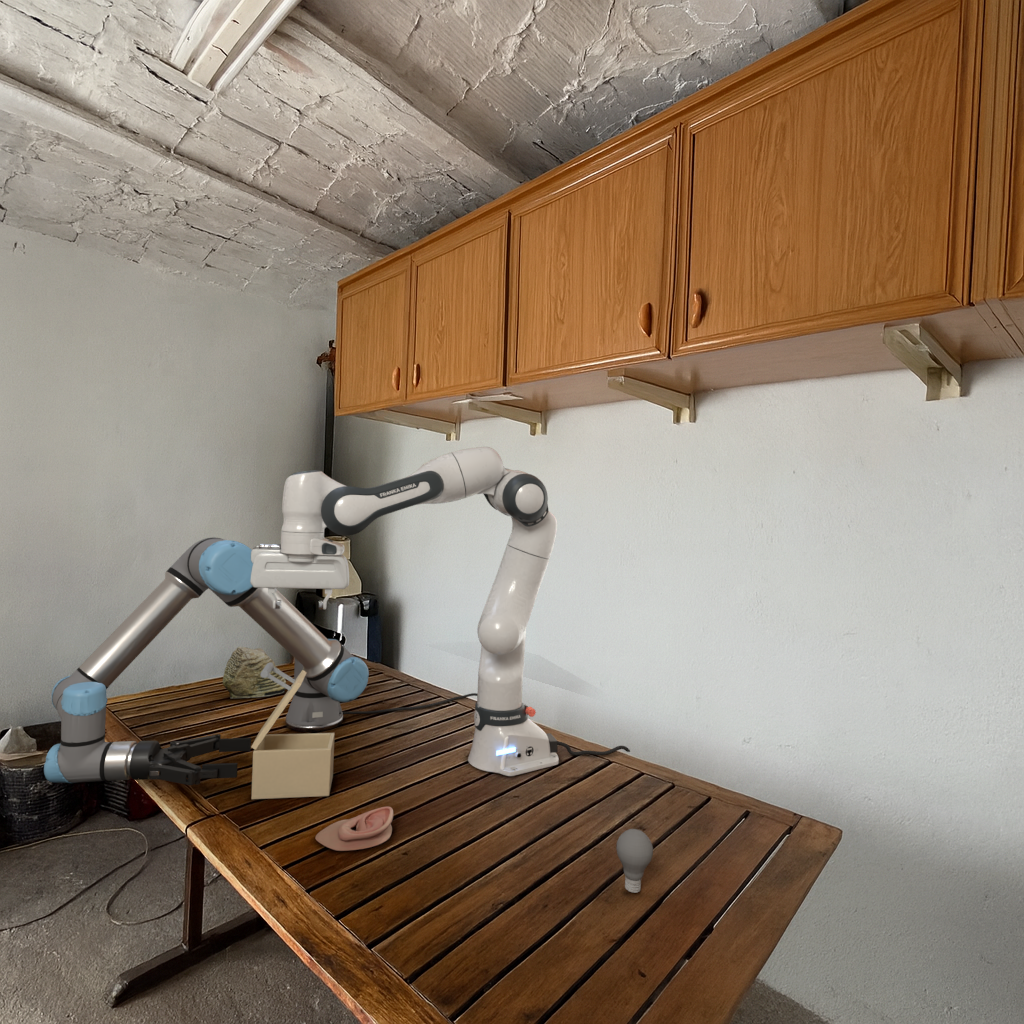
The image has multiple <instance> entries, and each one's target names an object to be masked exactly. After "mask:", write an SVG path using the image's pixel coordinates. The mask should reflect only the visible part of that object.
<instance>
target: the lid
mask: <svg viewBox="0 0 1024 1024" xmlns="http://www.w3.org/2000/svg"><path fill="white" fill-rule="evenodd" d="M277 668H278V667H276V668H275V667H274V664H273V663H271V662H270V663H267V665H266V666H265V667H264V669H263V670H262V672H261V674H260V675H261V677H262V678H266V677H267V678H269V679H271V680H272V681H274V682H276V683H277V684H279V685H281V686H282V687H284V688H286V690H287V691H286V693H285V694H284V695H283V697H282V698H281V699H280V701H279V703H277V705H276V707H275V709H274V710H273V711H272V713H271V714H270V716H269V717H268V719H266V721H265V723H263V726H261V729H260V730H259V732H258V734H257V735H256V737H255V739H254V741H253V743H251V749H253V750H254V749H255V750H256V749H257V747H258V746H259V744H260V743H261V742H262V740H263V739H264V737H265V736H266V735H268V733H269V732H270V730H271V729H272V728H273V726H274V725H275V724H276V722H277V720H278V719H279V718H280V716H281V714H283V712H284V710H285V709H286V708H287V706H288V704H289V703H291V702H290V701H292V699H293V696H294V694H295V693H296V692H297V690H298V689H299V687H300V686H301V684H302V682H303V680H304V677H305V675H306V673H307V672H305V671H304V670H302V671H301V673H300V674H299V676H298V677H297V678H296V680H295V679H294V677H292V676H290V675H288V674H287V673H285V672H283V671H282V670H281V669H279V668H278V669H279V670H278V669H277ZM271 671H274V672H275V673H277V674H279V675H280V676H282V677H283V678H285V680H286V681H288V682H290V683H292V684H291V685H289V684H287V682H286V683H284V682H282V681H281V680H279V679H277V678H276V677H274V676H272V675H271V674H270V672H271Z"/></svg>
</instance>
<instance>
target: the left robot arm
mask: <svg viewBox="0 0 1024 1024" xmlns="http://www.w3.org/2000/svg"><path fill="white" fill-rule="evenodd" d="M251 551H252V549H251V548H250V547H249V546H248V545H246V544H244V543H242V542H239V541H237V540H232V539H231V540H230V539H224V538H221V537H215V536H213V537H212V536H211V537H206V538H203V539H202V538H201V539H200V540H198V541H196V542H194V543H193V544H192V545H191V546H190V547H188V548H187V549H186V551H184V552H183V553H182V554H181V555H180V557H178V559H176V561H175V562H173V564H172V565H171V566H170V567H169V568H168V569H167V570H166V571H165V572H164V579H163V580H162V582H161V583H159V585H158V586H156V588H154V590H153V591H152V592H150V594H149V595H148V596H146V598H145V599H144V600H143V601H142V602H141V603H140V604H139V605H138V606H137V607H136V608H135V609H134V610H133V611H132V612H131V613H130V614H129V616H127V617H126V619H124V620H123V621H122V623H121V624H120V625H118V626H117V628H115V629H114V631H113V632H112V633H110V634H109V636H108V637H107V638H106V639H104V641H103V642H102V643H101V644H100V645H99V646H98V647H97V648H96V649H95V650H94V651H93V652H92V653H91V654H90V655H89V656H88V658H87V659H85V660H84V661H83V662H82V663H81V664H80V665H79V667H78V668H77V669H75V670H74V671H73V673H71V674H70V675H67V676H65V677H63V678H60V679H59V680H58V681H57V682H56V683H55V684H54V686H53V688H52V690H51V696H50V697H51V704H52V706H53V708H55V710H56V712H57V715H58V717H59V718H60V723H61V725H60V727H61V728H60V743H56V744H53V746H52V747H50V749H49V750H48V752H47V754H46V757H45V762H44V764H43V773H44V777H45V779H46V780H47V781H48V782H50V783H60V784H61V783H63V784H65V783H66V784H76V783H93V782H111V781H112V782H116V783H121V782H122V781H130V780H131V779H132V780H133V781H143V780H145V781H147V780H153V781H155V780H157V781H158V780H159V781H160V780H161V781H166V782H170V783H176V784H181V785H187V786H194V785H195V786H197V785H201V781H202V780H212V779H213V780H215V779H235V778H238V766H239V765H238V762H224V763H203V764H202V765H201V766H200V765H197V764H194V763H192V762H189V761H190V760H191V758H192V759H193V758H195V757H199V756H202V755H206V754H210V753H213V752H216V751H218V752H219V753H230V752H231V753H233V752H251V750H252V748H251V746H252V737H233V738H231V737H230V738H229V737H228V738H226V737H225V738H221V737H222V735H221V734H220V733H216V734H213V735H207V736H202V737H201V736H200V737H195V738H190V739H185V740H174V741H173V740H172V741H170V743H169V746H168V747H164V748H162V746H161V744H160V742H159V741H158V740H140V741H138V742H137V741H136V740H125V741H123V740H122V741H106V721H107V720H106V717H107V703H108V698H107V689H109V687H110V686H111V685H112V684H113V683H114V682H115V681H116V680H117V679H118V678H119V677H120V676H121V674H123V672H125V670H126V669H127V668H128V667H129V666H130V665H131V664H132V663H133V661H135V660H136V659H137V658H138V657H139V656H140V654H142V652H143V651H144V650H145V649H146V648H147V647H148V646H149V645H150V644H151V643H152V641H153V640H154V639H155V638H157V636H158V635H159V634H160V633H161V632H162V631H163V630H164V629H165V628H166V627H167V626H168V625H169V624H170V623H171V622H172V620H173V619H174V618H175V617H176V616H177V615H178V614H179V613H181V611H182V610H183V609H184V608H185V607H186V606H187V605H188V604H189V602H191V600H194V599H199V598H200V597H201V596H202V595H203V594H204V593H205V592H206V591H207V590H208V589H209V590H210V591H211V592H212V593H213V594H214V595H215V596H217V597H218V598H219V599H220V600H221V602H223V603H224V604H226V606H227V607H230V608H234V607H239V608H240V609H241V610H242V611H244V612H245V614H247V616H249V617H250V618H251V620H253V622H255V623H256V624H257V625H259V626H260V628H262V629H263V630H264V631H265V632H266V633H267V634H268V635H269V636H270V637H271V638H273V639H274V640H275V641H276V642H277V643H278V644H279V645H280V646H281V647H282V648H283V649H284V650H285V651H286V652H288V653H289V654H290V655H291V656H292V657H293V658H294V672H293V679H295V680H296V678H297V677H298V676H299V674H300V673H301V671H302V670H304V671H305V672H307V673H306V675H305V677H304V680H303V682H302V684H301V686H300V687H299V689H298V690H297V692H296V693H295V694H294V696H293V697H292V699H291V702H290V704H289V708H288V711H287V713H286V715H285V726H286V728H287V729H289V730H291V731H294V732H295V731H296V732H301V733H319V732H325V731H329V730H332V729H335V728H337V727H339V726H340V725H342V723H343V722H344V715H372V714H373V715H374V714H382V713H389V712H397V711H410V710H420V709H426V708H431V707H434V706H438V705H443V704H445V703H449V702H452V701H455V700H460V699H465V698H468V697H477V693H478V692H477V693H476V692H473V693H467V694H463V695H457V696H453V697H450V698H448V699H444V700H441V701H437V702H433V703H428V704H423V705H416V706H405V707H392V708H386V709H378V710H369V711H364V710H363V711H361V710H360V711H357V710H353V711H352V710H351V711H343V709H342V706H341V703H343V704H344V703H350V702H353V701H354V700H356V699H358V697H360V696H361V695H362V694H363V692H364V691H365V690H366V688H367V686H368V682H369V676H370V672H369V668H368V665H367V664H366V663H365V661H364V660H363V659H362V658H360V657H358V656H355V655H353V654H352V653H351V652H350V651H349V650H348V649H347V648H346V647H345V646H344V645H343V644H342V643H341V642H340V641H339V640H338V639H336V638H327V637H326V636H325V635H324V634H323V633H322V632H321V631H320V630H319V629H318V628H317V627H316V626H315V625H314V624H313V623H312V622H311V621H310V620H309V619H308V618H307V617H306V616H305V615H303V613H302V612H300V611H299V610H298V608H296V606H294V605H293V603H291V602H290V601H289V600H288V598H286V597H285V596H284V595H283V594H282V593H281V592H280V591H279V590H278V588H276V592H275V593H274V594H275V596H276V597H277V599H278V600H281V608H280V609H273V601H272V599H271V598H270V596H269V594H268V588H254V587H253V586H252V585H251V583H250V580H251V572H252V567H253V563H252V561H251Z"/></svg>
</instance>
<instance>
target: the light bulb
mask: <svg viewBox="0 0 1024 1024" xmlns="http://www.w3.org/2000/svg"><path fill="white" fill-rule="evenodd" d="M615 849H616V854H617V857H618V859H619V861H620V863H621V865H622V867H623V873H624V874H623V875H624V876H625V878H624V888H625V890H627V891H628V892H630V893H634V894H635V893H639V892H640V891H641V889H642V887H641V886H642V879H643V877H644V875H645V871H646V868H647V867H648V866H649V864H650V863H651V861H652V859H653V855H654V847H653V843H652V841H651V838H649V836H648V835H647V834H646V833H645V832H643V831H642V830H641V829H636V828H629V829H627V830H625V831H623V832H622V833H621V834H620V835H619V837H618V839H617V841H616V847H615Z"/></svg>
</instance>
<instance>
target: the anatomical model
mask: <svg viewBox="0 0 1024 1024" xmlns="http://www.w3.org/2000/svg"><path fill="white" fill-rule="evenodd" d="M393 819H394V809H393V808H392V807H391V806H382V807H378V808H375V809H372V810H368V811H365V812H363V813H361V814H358V815H357V816H354V817H351V818H348V819H341V820H338V821H336V822H334V823H331V824H330V825H328V826H326V827H324V828H323V829H321V830H320V831H319V832H318V833H317V834H316V835H315V840H316V841H317V842H318V843H319V844H320V845H322V846H324V847H326V848H328V849H330V850H333V851H336V852H347V851H357V850H364V849H369V848H372V847H376V846H379V845H382V844H383V843H385V842H387V841H388V840H389V839H390V838H391V836H392V832H393V826H392V822H393Z"/></svg>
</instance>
